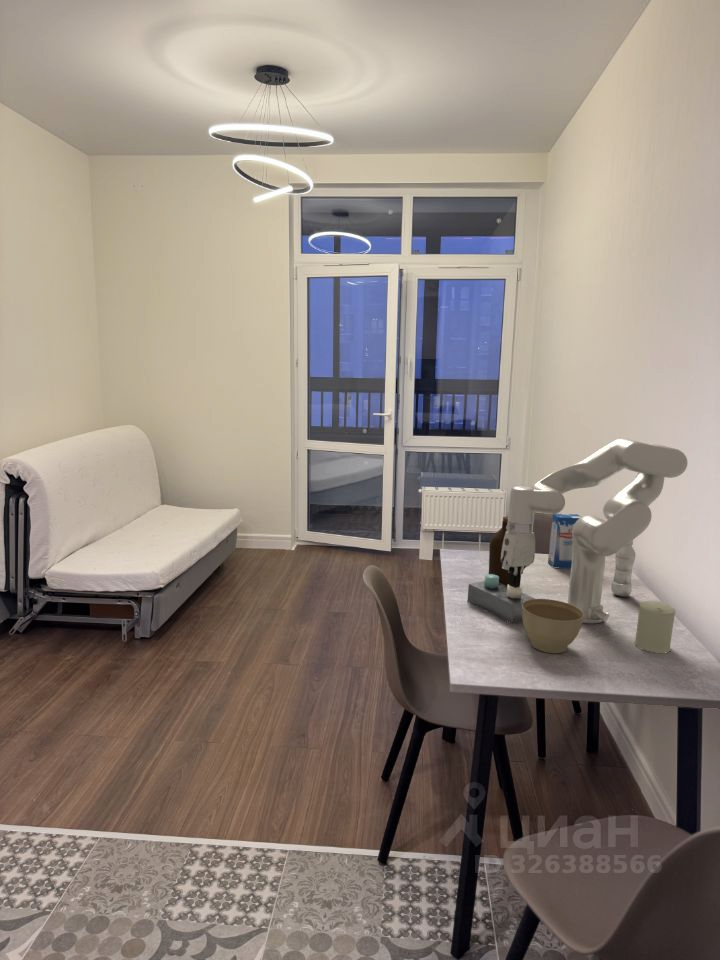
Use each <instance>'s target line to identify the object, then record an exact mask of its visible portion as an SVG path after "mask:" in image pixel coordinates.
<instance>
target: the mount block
mask: <svg viewBox="0 0 720 960" xmlns="http://www.w3.org/2000/svg"><path fill="white" fill-rule="evenodd" d="M484 582H485V580H483V581H478V582H472V583H468V588H467V600H466V601H467V603H469V604H472V605H473V606H474V607H475V606H476V607H477V608H479V609H481V610H483V611H484V612H487V613H488V614H491V615H492V616H495V617H497V618H499V619H501V620H503V621H505V622H507V621H508V622H507V623H509V622H510V623H509V624H511V623H512V624H511V625H514V624H513V623H515V624H517V623H518V622H519V623H523V622H522V621H523V618H522V612H523V611H522V604H523V603H524V602H525V601H527V600H531V599H536V598H534V597H532V596H530V595H528V594H525V593H523V592H522V596H521V598H517V599H512V598H511V597H508V596H507V586H505V585H503V584H501V583H499V584H498V587H497V588H492V589H490V588H488V587H486V586H485V585H484Z"/></svg>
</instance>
